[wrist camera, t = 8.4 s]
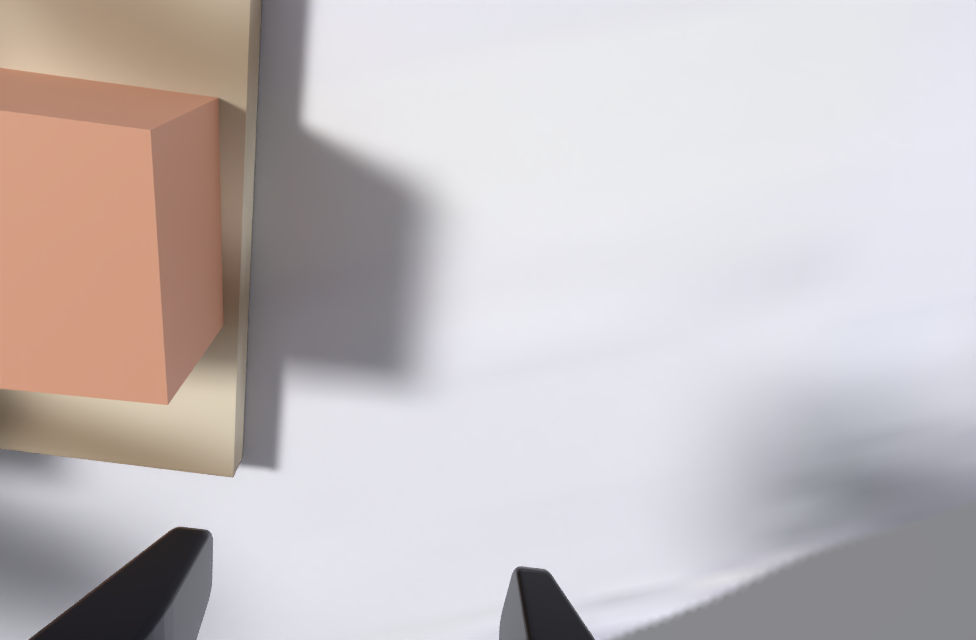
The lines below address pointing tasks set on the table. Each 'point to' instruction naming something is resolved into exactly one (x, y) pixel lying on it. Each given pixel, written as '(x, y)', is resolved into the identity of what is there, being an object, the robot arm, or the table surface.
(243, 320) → the shelf
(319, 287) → the table surface
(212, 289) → the pink rectangular block
